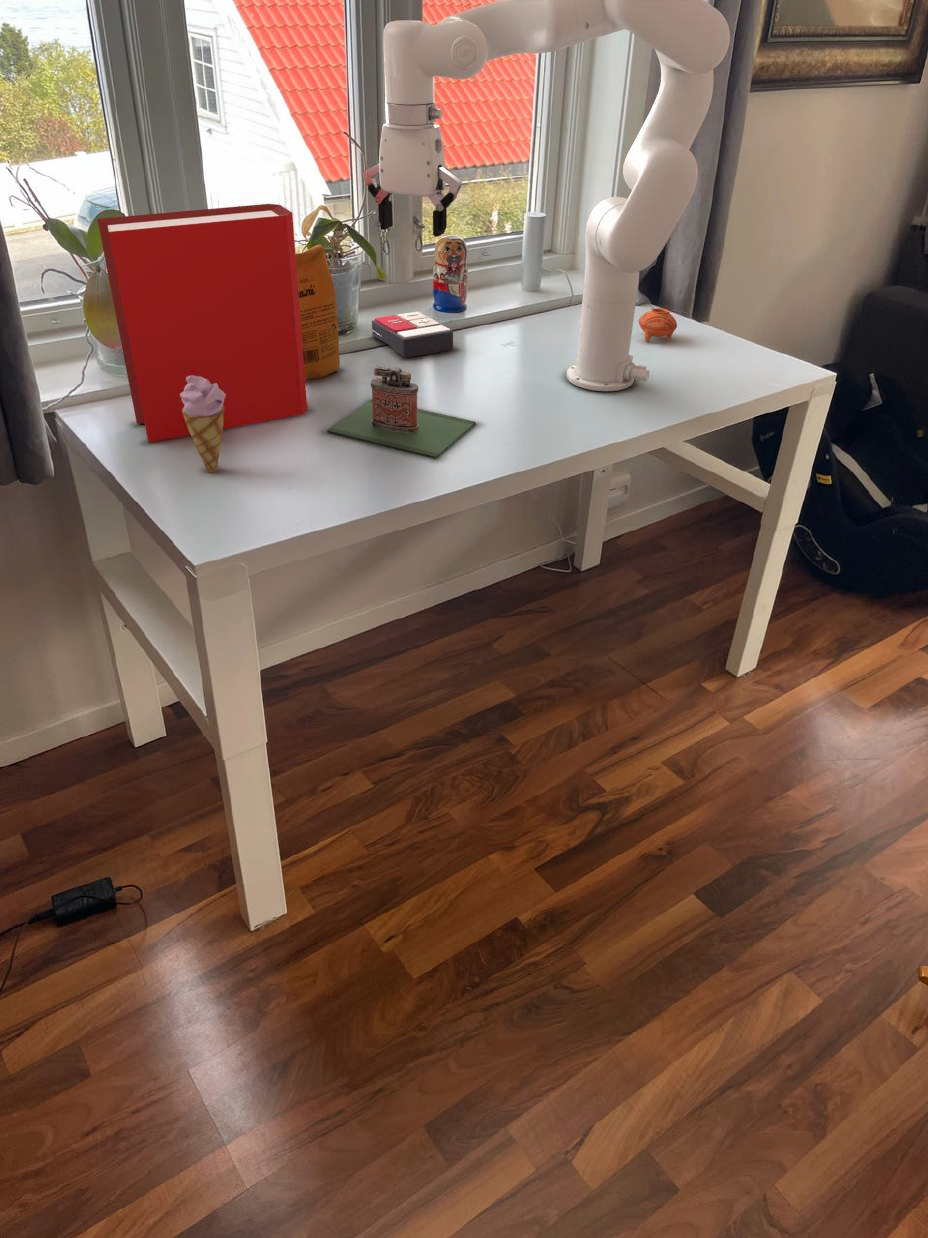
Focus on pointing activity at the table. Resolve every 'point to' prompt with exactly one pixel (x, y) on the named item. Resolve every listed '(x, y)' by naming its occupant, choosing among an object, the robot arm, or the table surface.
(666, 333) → the pot
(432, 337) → the card game box
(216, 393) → the ice cream cone
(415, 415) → the lighter
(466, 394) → the table surface
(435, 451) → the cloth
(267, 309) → the book
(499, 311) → the table surface
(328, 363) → the coffee package
